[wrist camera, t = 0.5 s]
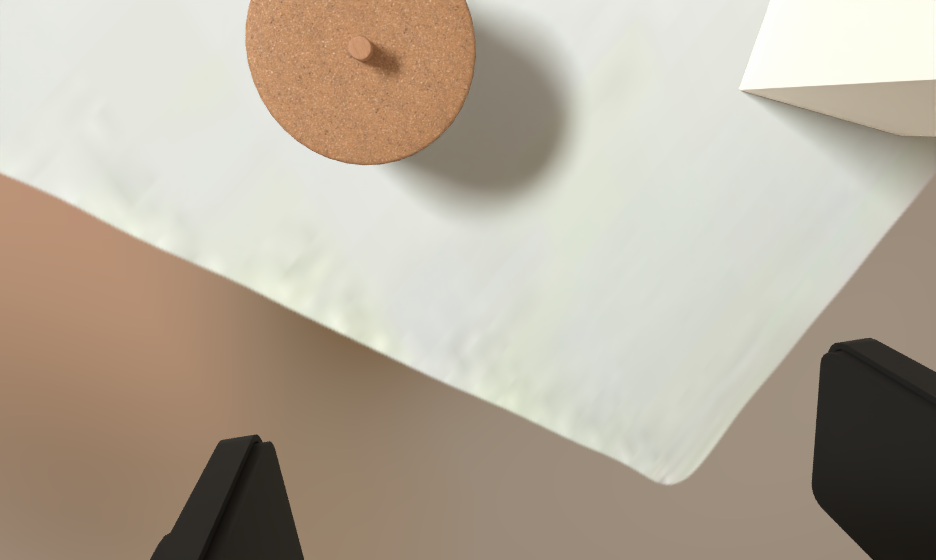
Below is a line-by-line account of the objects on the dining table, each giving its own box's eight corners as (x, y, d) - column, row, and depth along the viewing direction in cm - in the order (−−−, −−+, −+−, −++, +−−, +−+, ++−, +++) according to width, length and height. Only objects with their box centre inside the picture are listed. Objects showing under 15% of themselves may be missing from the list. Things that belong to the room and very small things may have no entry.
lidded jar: (414, -76, 33) (416, -137, 24) (490, 105, 37) (516, 110, 28) (243, 7, 34) (184, -23, 25) (334, 179, 37) (310, 207, 28)
